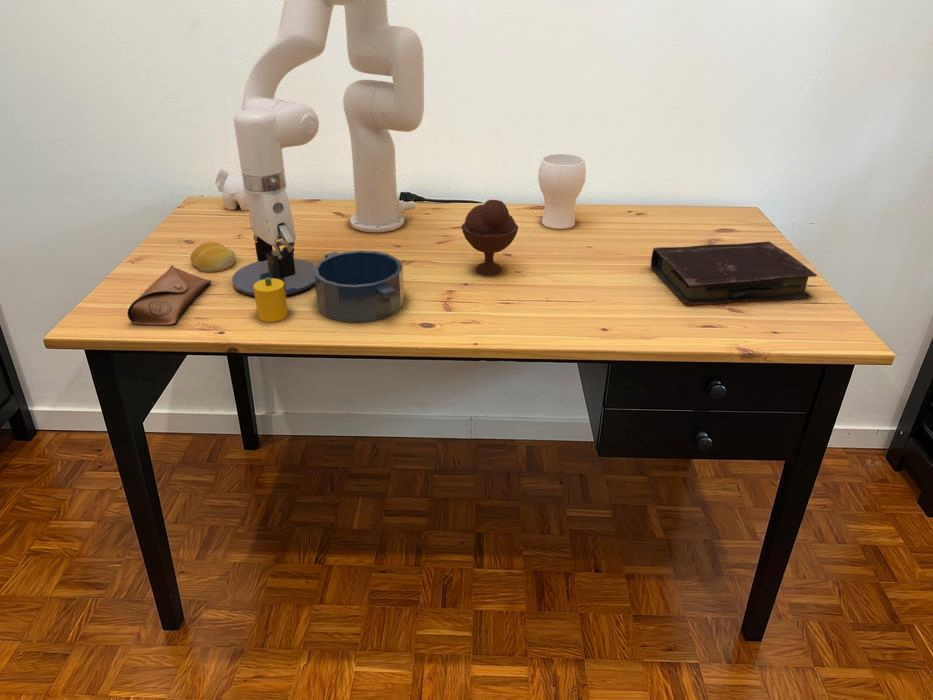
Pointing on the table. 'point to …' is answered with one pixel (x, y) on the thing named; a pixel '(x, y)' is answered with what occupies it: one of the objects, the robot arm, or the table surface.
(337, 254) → the pan
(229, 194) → the elephant figurine
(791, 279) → the diary
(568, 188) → the cup
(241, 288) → the lid
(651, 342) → the table surface
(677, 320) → the table surface
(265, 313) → the yellow cylinder with peg
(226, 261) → the bread roll
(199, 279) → the sunglasses case
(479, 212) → the ice cream bowl
